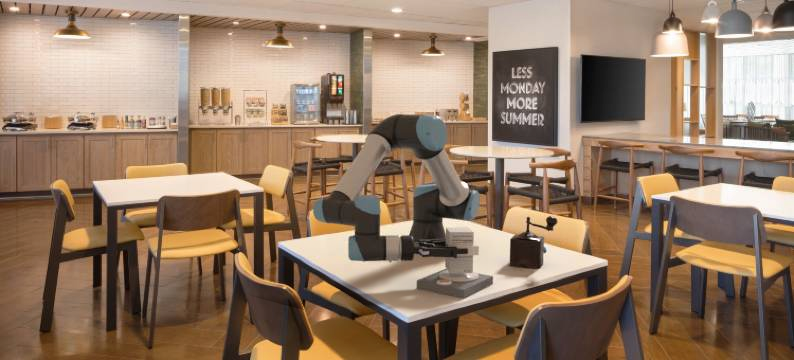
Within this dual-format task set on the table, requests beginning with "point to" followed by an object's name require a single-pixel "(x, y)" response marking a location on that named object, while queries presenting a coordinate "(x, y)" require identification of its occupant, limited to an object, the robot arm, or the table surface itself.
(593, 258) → the table surface
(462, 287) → the scale
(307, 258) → the table surface
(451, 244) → the supplement box
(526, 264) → the manual coffee grinder
